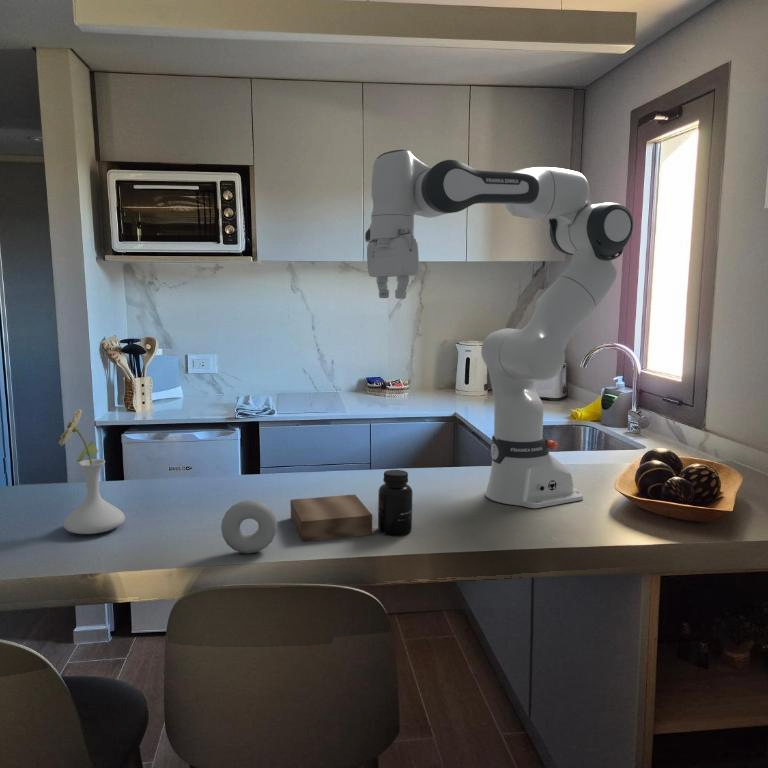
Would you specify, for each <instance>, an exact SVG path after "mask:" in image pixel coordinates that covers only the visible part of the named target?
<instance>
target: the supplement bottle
mask: <svg viewBox="0 0 768 768" xmlns="http://www.w3.org/2000/svg"><path fill="white" fill-rule="evenodd" d="M382 479H383V480H382V481H383V484H381V485H380V487H379V488H378V497H377V499H378V500H377V501H378V503H377V506H378V507H377V530H378V531H379V532H380V533H381V534H383V535H384V536H385V535H387V536H392V537H396V536H397V537H399V536H404V535H405V536H406V535H408V534H410V533H411V531H412V529H413V528H412V527H413V489H412V487H411V486H410V484H408V482H409V472H408V471H405V470H403V469H402V470H401V469H389V470H384V473H383V478H382Z"/></svg>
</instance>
